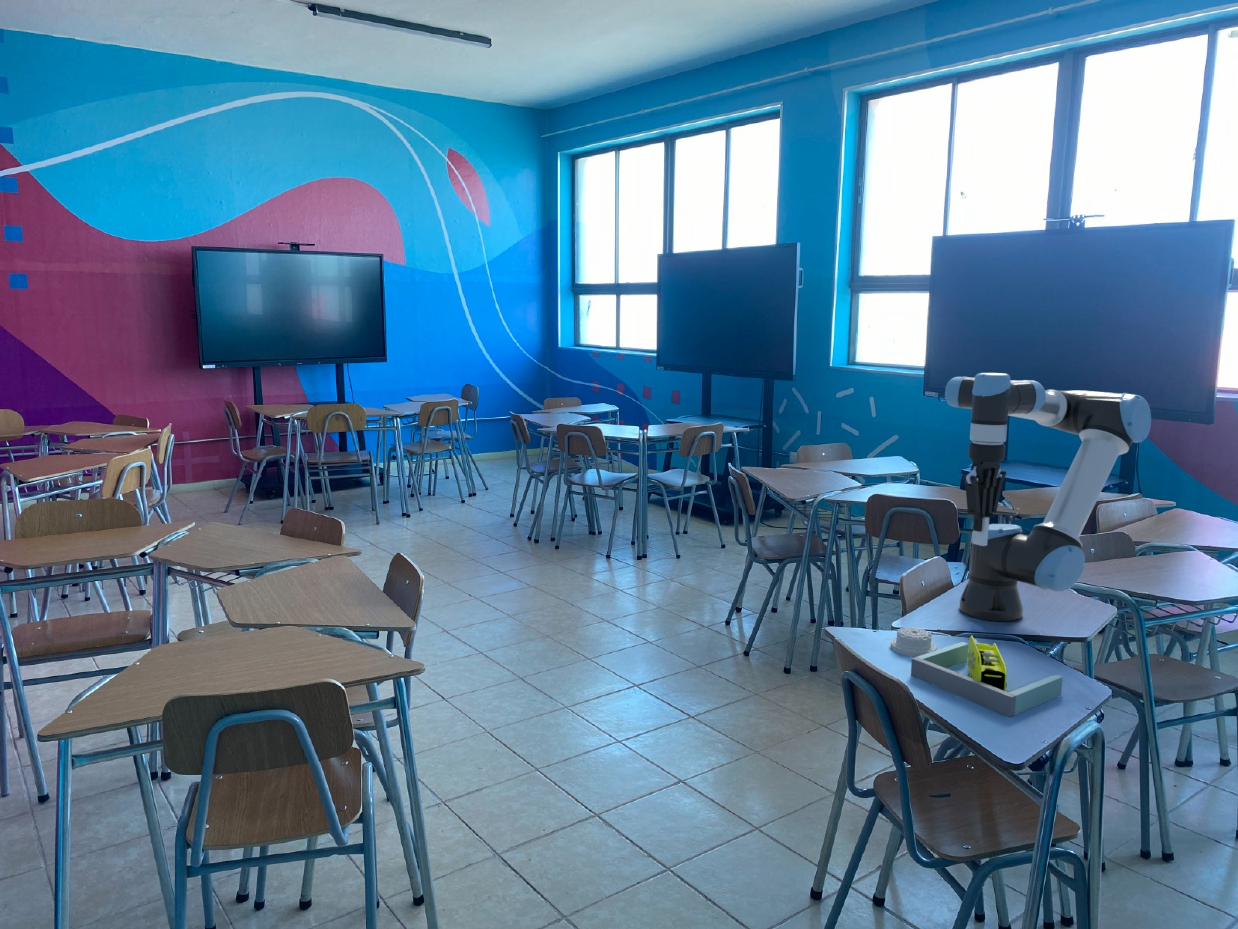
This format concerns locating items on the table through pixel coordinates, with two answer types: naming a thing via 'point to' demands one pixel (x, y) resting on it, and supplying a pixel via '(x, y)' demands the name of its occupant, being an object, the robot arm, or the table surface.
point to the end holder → (1009, 704)
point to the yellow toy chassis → (986, 664)
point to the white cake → (913, 642)
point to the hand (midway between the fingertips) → (979, 544)
